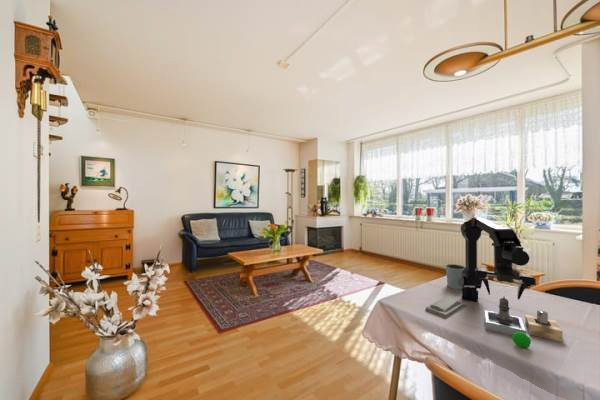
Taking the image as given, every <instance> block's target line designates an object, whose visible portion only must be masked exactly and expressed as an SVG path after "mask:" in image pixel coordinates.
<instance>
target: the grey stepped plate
mask: <svg viewBox="0 0 600 400" xmlns="http://www.w3.org/2000/svg"><path fill="white" fill-rule="evenodd" d="M466 307H467V305H466V302H462V301H460V300H456V299H453V298H449V297H446V296H444V297H442V298H440V299H439V300H436V301H435V302H433V303H431V304H430V305H427V306H425V311H426V312H428V313H431V314H434V315H436V316H439V317H442V318H445V319H448V318H450V317H452V316H453V315H454V314H456V313H458V312H459V311H461V310H463V309H464V308H466Z"/></svg>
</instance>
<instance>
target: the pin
mask: <svg viewBox="0 0 600 400" xmlns="http://www.w3.org/2000/svg"><path fill="white" fill-rule="evenodd" d="M536 317H537V323H538V324H543V325H548V319H549V312H547V311H545V310H541V309H540V310H539V309H538V310H536Z"/></svg>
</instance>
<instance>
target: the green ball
mask: <svg viewBox="0 0 600 400" xmlns="http://www.w3.org/2000/svg"><path fill="white" fill-rule="evenodd" d="M511 340H512V342H513V343H514V344H515V345H516V346H518V347H519V348H522V349H527V348H530V346H531V343H532V339H531V338H530V337H529V336H528V335H527V333H526V334H524V333H522V332H516V333H514V334H513V335H512V339H511Z"/></svg>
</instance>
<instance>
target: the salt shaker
mask: <svg viewBox="0 0 600 400" xmlns="http://www.w3.org/2000/svg"><path fill="white" fill-rule="evenodd" d="M498 308H499V310H498V312H497V313H496V314H495V316H496V319H497V320H498V322H496V323H498V324H503V325H507V326H512V325H510V324H511V323H512V321H513V317H511V316H512V315H511V316H509V315H510V313H509V312H510V309H511V308H510V307H509V300H508V299H507V298H506V297H505V296H502V297H501V298H499V305H498Z"/></svg>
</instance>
